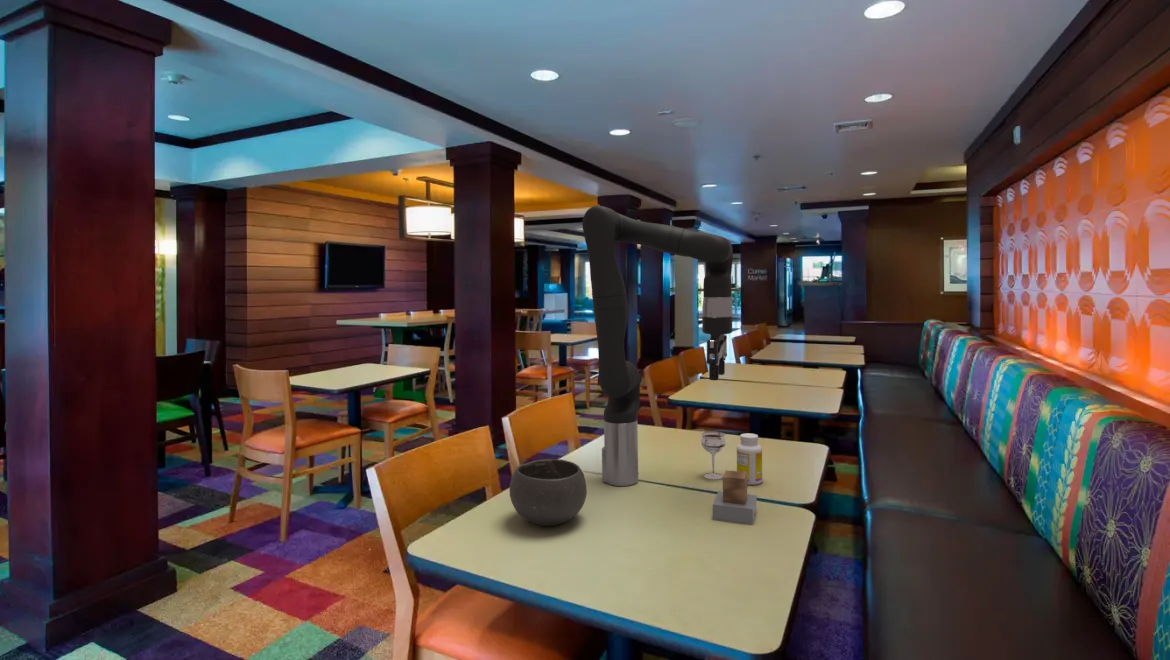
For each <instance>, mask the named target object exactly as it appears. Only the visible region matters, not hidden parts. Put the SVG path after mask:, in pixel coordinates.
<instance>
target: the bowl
mask: <svg viewBox="0 0 1170 660" xmlns="http://www.w3.org/2000/svg"><path fill="white" fill-rule="evenodd" d="M509 483H510V484H509V497H510V501H511V505H512V506H513V508H514V510H515V511H516V512H517V514H518V515H520V516H521V518H523V519H524V520H526V521H528V522H529V523H532V524H535V525H538V526H546V527H547V526H548V527H549V526H556V525H560V524H563V523H565V522H567V521H569V520H571V519H572V518H574V517H576V515H578V513H579V512H580V511H581V510H582V508H583V506H584V505H585V502H586V498H587V494H588V493H587V491H588V490H587V489H588V488H587V483H586V477H585V475H584V472H583V470H582V468H581V467H580V466H579V465H578V464H576V463H575V462H573V461H568V460H566V459H559V458H558V459H557V458H554V459H553V458H551V459H549V458H548V459H538V460H537V459H536V460H533V461H528V462H526V463H520V464H519V465H518V466H517V467H516V468H515V469H514V472H513V473H512V477H511V479H510V482H509Z"/></svg>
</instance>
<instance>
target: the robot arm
mask: <svg viewBox="0 0 1170 660" xmlns="http://www.w3.org/2000/svg"><path fill="white" fill-rule="evenodd" d="M582 231H583V236H584V240H585V246H586V249H587V250H586V251H587V255H588V261H589V273H590V274H589V276H590V277H589V278H590V285H591V295H592V296H591V297H592V308H593V314H594V322H595V330H596V331H595V333H596V339H597V349H598V350H597V351H598V354H597V355H598V382H599V387H600V390H601V391H602V392H603V393H604V394H605V396H606V397H608V399H607V403H606V406H605V408H604V409H603V435H604V437H603V439H604V440H603V441H604V443H603V444H604V446H603V447H602V448H601V474H602V475H601V477H602V478H601V480H602V483H606V484H608V485H611V486H617V487H627V486H633V485H636V484H637V483H638V482H639V446H638V445H639V437H638V436H639V435H638V434H639V433H638V432H639V431H638V430H639V429H638V413H639V409H640V404H641V403H640V399H641V397H640V396H641V395H640V394H641V380H640V379H641V378H640V374H639V373H640V372H639V370H638V368H637V367H636V365H635V364H633V363H632V362H631V361H628V360H626V354H625V353H626V352H625V335H626V330H627V326H628V319H629V318H628V316H629V309H628V308H629V307H628V298H627V290H626V285H625V282H624V279H623V276H622V272H621V271H620V268H619V264H618V262H617V257H616V251H615V243H617V242H618V243H628V244H629V243H630V244H634V245H639V246H643V247H646V248H649V249H652V250H654V251H659V252H662V253H666V254H671V255H675V256H680V257H687V258H688V257H689V258H692V259H695V260H698V261H702V262H705V276H704V279H703V283H702V284H703V288H702V289H703V294H702V296H703V300H702V306H701V307H702V309H701V310H702V311H701V313H702V315H701V317H702V321H701V322H702V323H701V324H702V327H701V328H702V333H703V334H705V335H707V334H708V335H710V337H709V339H707V340H706V364H708V366H709V367H708V368H709V369H708V373H709V374H708V375H709V381H718V380H719V376H724V375H725V373H726V372H725V371H726V370H725V369H726V367H725V365H726V363H725V362H726V359H727V356H728V353H727V352H728V351H727V349H728V345H727V344H728V343H727V340H728V336H727V335H729V334H732V333H733V302H732V269H733V258H734V255H733V254H734V253H733V252H734V250H733V249H734V248H733V245H732V242H730V240H729V239H727V238H726V237H724V236H722V235H717V234H712V233H704V232H697V231H694V230H691V229H688V228H683V227H678V226H673V225H669V224H662V223H655V222H653V223H652V222H647V221H643V220H642V221H641V220H637V219H633V218H631V217H628V216H626V215H624V214H621V213H619V212H616V211H615V210H614V209H612V208H609V207H607V206H604V205H594V206H591V207H589V208H588V209H587V210H586V211H585V213H584V215H583V219H582Z"/></svg>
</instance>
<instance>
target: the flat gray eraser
mask: <svg viewBox="0 0 1170 660" xmlns="http://www.w3.org/2000/svg"><path fill="white" fill-rule="evenodd" d="M757 497H758V495H756V494H749V493H747V500H746V503H745V504H737V503H727V502H723V490H722V491H720V490H718V491H717V493H716V496H715V497H714V499H713V503H712V520H714V521H721V522H728V523H729V522H730V523H739V524H744V525H751V526H752V525H754V521H755V518H756V513H757Z"/></svg>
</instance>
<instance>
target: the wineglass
mask: <svg viewBox="0 0 1170 660" xmlns="http://www.w3.org/2000/svg"><path fill="white" fill-rule="evenodd" d="M700 435H701V439H700V444H701V446H702V448H703V449H704V450H705V451H706V452H708V453H709V454H710V455H711V466H712V467H711V468H712V471H711V472H710V473H706V474H704V478H706V479H709V480H719V479H723V475H722V474H719V473H715V458H716V457H715V456H716V455H717V453H720V452H722V450H723V449H724V448H725V446H726V444H727V443H726V438H725V436H726V434H725V433H724V432H721V431H716V430H715V431H711V430H710V431H709V430H708V431H703V432H701V433H700Z"/></svg>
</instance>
